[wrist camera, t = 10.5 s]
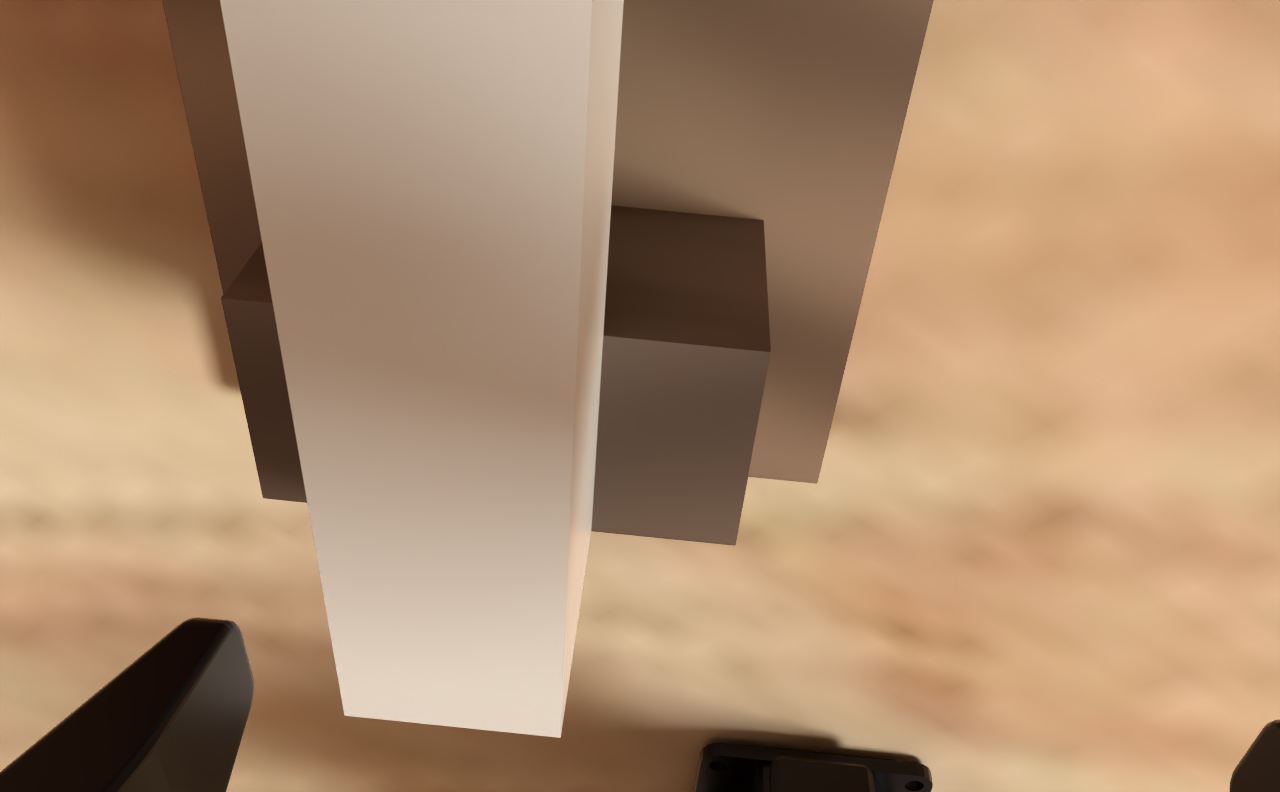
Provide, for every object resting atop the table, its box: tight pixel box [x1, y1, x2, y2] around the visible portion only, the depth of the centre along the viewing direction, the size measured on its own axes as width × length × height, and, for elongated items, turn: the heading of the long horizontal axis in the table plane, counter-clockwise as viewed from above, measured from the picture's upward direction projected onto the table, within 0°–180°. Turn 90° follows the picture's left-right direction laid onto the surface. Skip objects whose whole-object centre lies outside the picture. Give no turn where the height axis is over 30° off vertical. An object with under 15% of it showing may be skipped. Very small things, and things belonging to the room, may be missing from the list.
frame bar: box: [220, 0, 624, 738], centre depth 11 cm, size 16×3×4 cm, turn 176°
